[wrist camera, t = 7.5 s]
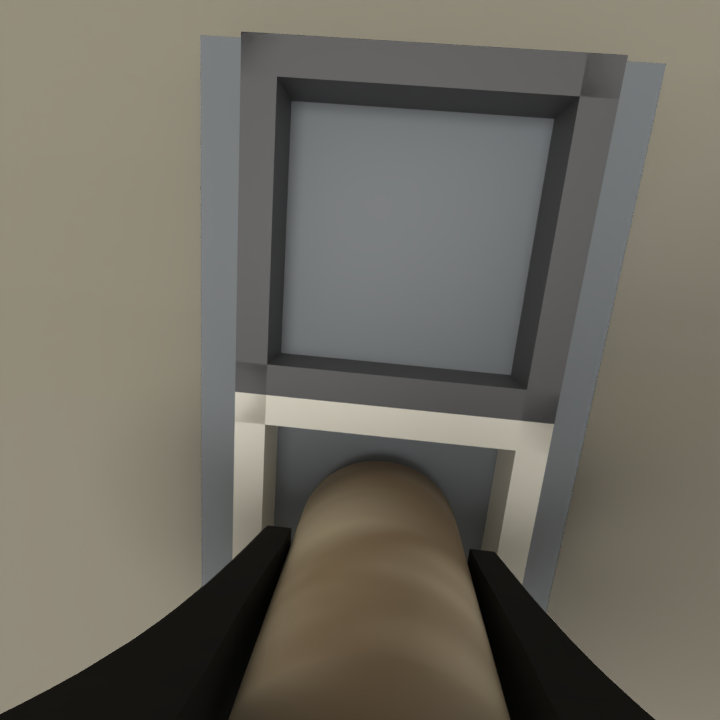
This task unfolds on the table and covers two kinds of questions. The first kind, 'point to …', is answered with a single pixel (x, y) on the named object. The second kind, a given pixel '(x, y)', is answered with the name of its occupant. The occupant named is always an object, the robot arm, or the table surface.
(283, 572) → the beech pin
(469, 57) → the gray compartment tray
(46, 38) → the table surface
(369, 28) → the table surface
